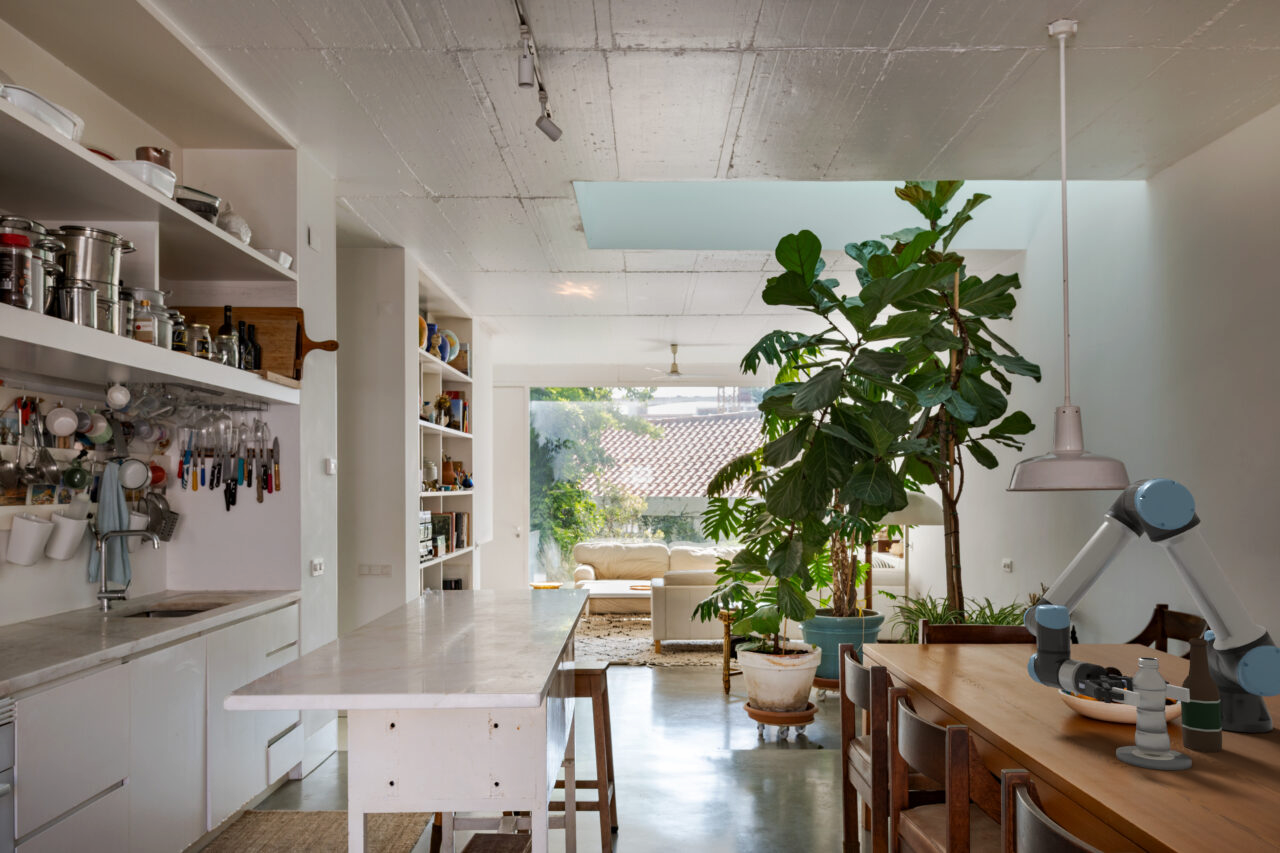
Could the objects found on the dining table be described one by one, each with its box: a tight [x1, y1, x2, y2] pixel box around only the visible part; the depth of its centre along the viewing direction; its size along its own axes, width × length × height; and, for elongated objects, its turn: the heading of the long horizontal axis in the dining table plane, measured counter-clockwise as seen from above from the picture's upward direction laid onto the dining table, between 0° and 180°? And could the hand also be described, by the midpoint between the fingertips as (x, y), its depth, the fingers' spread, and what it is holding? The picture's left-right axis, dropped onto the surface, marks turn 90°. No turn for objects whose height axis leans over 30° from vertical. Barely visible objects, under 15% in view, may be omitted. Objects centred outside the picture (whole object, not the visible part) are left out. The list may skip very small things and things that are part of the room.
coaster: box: [1115, 745, 1193, 771], centre depth 196 cm, size 14×14×1 cm
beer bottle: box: [1180, 637, 1223, 753], centre depth 207 cm, size 8×8×24 cm
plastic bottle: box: [1132, 656, 1172, 755], centre depth 197 cm, size 6×7×20 cm
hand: (1163, 698), depth 194 cm, fingers open, 13 cm apart
